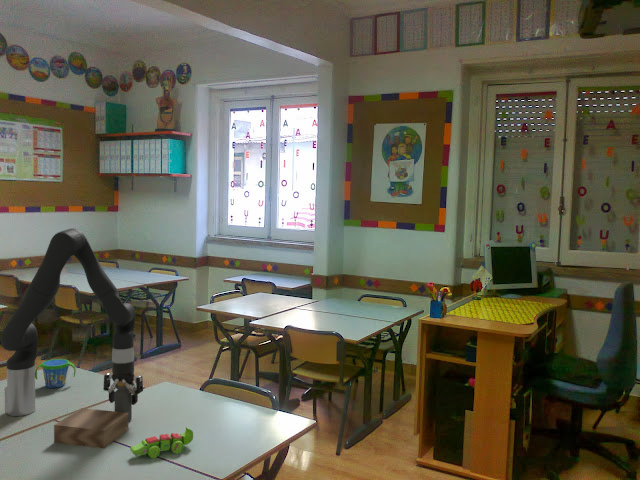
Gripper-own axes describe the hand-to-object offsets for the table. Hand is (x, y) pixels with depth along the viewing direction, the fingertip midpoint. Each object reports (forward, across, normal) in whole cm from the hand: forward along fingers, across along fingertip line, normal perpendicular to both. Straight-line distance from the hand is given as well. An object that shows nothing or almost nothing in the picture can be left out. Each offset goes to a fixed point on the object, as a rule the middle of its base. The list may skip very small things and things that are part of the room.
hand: (123, 403), depth 199 cm
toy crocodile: (+7, +25, -20) cm, 32 cm away
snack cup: (+6, -46, +26) cm, 53 cm away
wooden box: (+6, -3, -14) cm, 16 cm away
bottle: (+7, 0, 0) cm, 7 cm away
